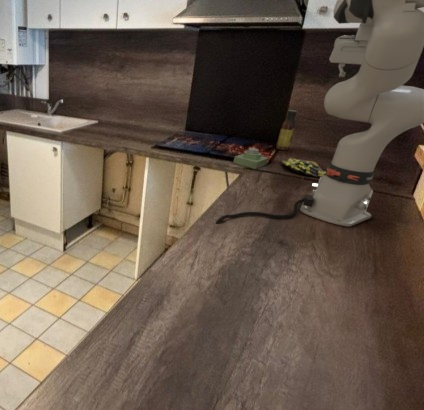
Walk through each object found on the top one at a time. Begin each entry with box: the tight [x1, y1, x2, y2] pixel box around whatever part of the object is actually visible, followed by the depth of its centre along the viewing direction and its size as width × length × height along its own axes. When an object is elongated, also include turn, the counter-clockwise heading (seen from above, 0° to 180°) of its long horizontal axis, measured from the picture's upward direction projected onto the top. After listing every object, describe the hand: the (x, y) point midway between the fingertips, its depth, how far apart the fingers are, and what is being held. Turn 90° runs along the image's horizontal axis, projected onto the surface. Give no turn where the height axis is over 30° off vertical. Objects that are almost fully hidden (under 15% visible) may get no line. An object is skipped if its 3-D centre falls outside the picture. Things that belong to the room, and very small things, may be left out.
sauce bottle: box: [276, 109, 298, 151], centre depth 184 cm, size 7×6×20 cm
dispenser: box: [232, 150, 269, 170], centre depth 159 cm, size 12×10×5 cm
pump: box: [247, 147, 260, 154], centre depth 157 cm, size 4×4×2 cm
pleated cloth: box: [281, 157, 327, 178], centre depth 155 cm, size 20×16×7 cm
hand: (356, 78), depth 128 cm, fingers open, 8 cm apart
